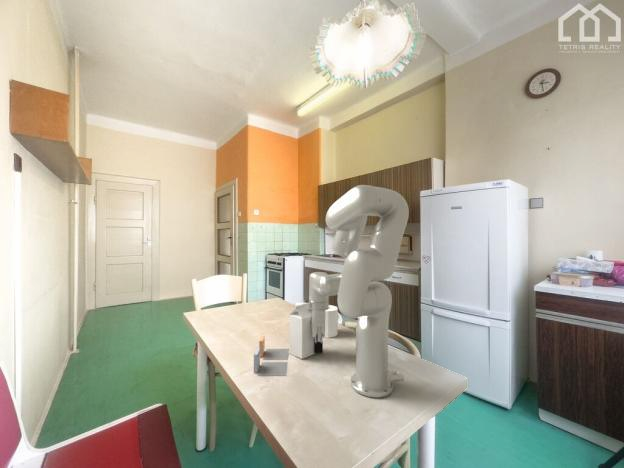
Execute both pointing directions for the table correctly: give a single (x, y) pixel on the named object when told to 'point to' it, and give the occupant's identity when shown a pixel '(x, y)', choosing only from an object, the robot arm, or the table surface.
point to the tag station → (270, 354)
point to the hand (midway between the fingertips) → (318, 352)
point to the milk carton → (301, 332)
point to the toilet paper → (331, 322)
